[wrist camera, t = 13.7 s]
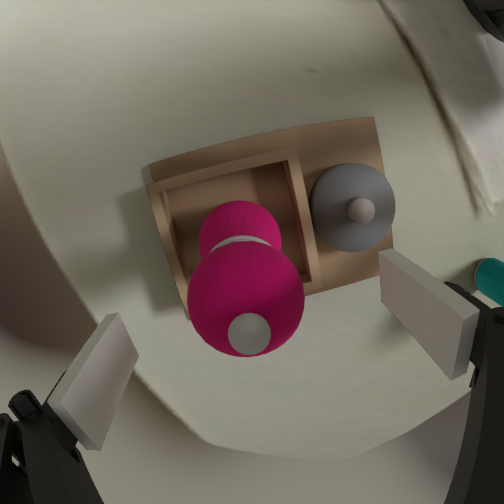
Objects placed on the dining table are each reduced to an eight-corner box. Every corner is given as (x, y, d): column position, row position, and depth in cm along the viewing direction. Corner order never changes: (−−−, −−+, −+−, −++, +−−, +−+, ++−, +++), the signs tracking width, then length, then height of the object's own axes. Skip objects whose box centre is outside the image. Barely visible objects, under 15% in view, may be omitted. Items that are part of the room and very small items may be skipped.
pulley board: (152, 164, 29) (136, 164, 24) (368, 117, 29) (391, 111, 24) (198, 316, 34) (194, 340, 29) (390, 267, 34) (411, 282, 29)
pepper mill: (268, 190, 29) (336, 241, 10) (278, 258, 31) (339, 390, 12) (197, 202, 29) (135, 275, 10) (210, 269, 31) (186, 415, 12)
